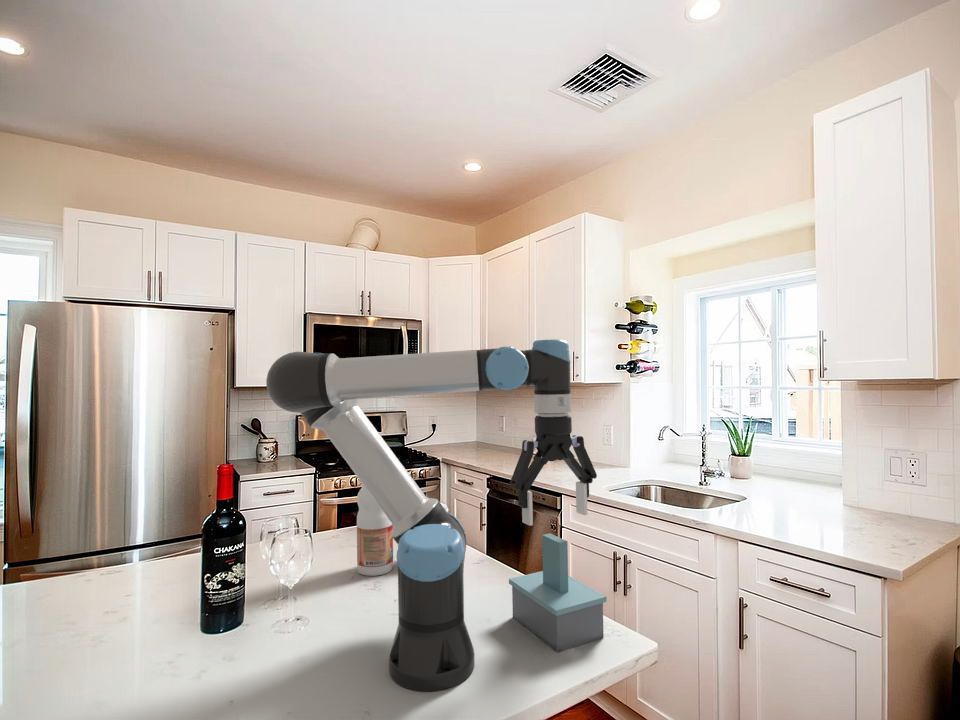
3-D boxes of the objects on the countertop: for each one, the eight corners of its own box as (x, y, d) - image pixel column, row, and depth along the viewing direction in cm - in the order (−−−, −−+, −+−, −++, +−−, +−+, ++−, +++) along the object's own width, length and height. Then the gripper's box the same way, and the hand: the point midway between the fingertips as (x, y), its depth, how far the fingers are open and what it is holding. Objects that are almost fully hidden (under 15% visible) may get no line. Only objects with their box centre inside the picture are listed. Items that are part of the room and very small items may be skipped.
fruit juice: (350, 570, 139) (349, 464, 139) (380, 560, 145) (379, 459, 146) (369, 579, 132) (368, 468, 133) (400, 569, 139) (399, 463, 139)
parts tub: (603, 637, 102) (602, 601, 102) (557, 652, 97) (556, 614, 97) (555, 605, 116) (554, 573, 116) (512, 617, 111) (512, 583, 111)
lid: (606, 601, 102) (605, 545, 102) (556, 616, 96) (555, 556, 96) (554, 572, 117) (554, 523, 117) (508, 583, 111) (508, 531, 112)
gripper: (510, 419, 98) (513, 533, 98) (611, 412, 110) (614, 513, 109) (490, 417, 105) (493, 523, 104) (588, 410, 116) (591, 505, 116)
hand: (555, 518), depth 107 cm, fingers open, 13 cm apart
